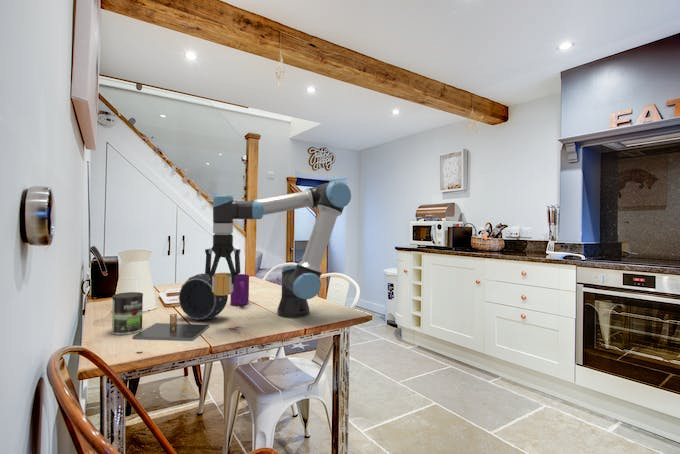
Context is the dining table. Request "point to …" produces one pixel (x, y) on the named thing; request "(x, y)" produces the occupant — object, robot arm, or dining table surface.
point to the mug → (240, 291)
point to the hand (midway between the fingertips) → (222, 291)
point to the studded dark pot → (200, 298)
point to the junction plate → (172, 331)
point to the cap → (221, 284)
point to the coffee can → (127, 313)
